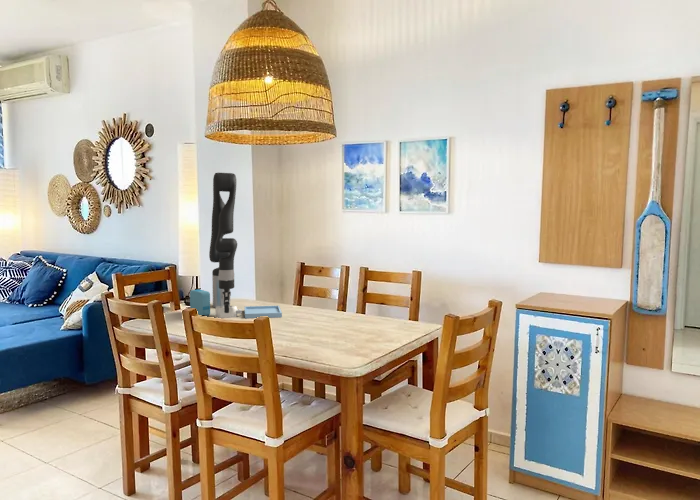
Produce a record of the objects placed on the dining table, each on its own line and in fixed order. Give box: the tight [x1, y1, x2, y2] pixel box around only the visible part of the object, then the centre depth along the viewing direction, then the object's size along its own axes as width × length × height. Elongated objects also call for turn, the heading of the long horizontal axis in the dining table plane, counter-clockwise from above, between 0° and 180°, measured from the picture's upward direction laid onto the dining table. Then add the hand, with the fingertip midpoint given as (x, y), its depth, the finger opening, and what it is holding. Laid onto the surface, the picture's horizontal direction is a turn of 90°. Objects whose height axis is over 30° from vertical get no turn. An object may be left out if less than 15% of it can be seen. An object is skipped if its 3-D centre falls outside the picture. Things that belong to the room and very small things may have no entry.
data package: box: [189, 288, 211, 317], centre depth 273 cm, size 12×4×12 cm, turn 45°
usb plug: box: [215, 305, 243, 319], centre depth 269 cm, size 13×4×5 cm, turn 102°
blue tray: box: [243, 305, 283, 319], centre depth 277 cm, size 18×18×2 cm
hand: (226, 311), depth 268 cm, fingers open, 8 cm apart
